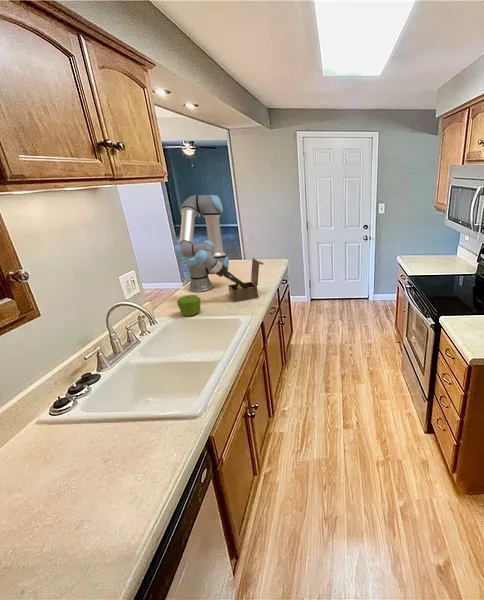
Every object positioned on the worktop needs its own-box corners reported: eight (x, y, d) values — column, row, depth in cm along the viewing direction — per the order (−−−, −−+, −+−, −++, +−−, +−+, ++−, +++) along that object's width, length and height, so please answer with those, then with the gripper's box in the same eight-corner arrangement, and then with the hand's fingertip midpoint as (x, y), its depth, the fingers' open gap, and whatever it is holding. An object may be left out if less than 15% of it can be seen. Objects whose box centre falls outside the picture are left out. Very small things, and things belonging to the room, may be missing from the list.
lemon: (236, 293, 222) (235, 278, 218) (245, 292, 224) (244, 277, 220) (237, 296, 216) (235, 281, 213) (247, 295, 218) (245, 280, 215)
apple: (204, 314, 192) (201, 296, 188) (181, 319, 186) (177, 301, 182) (200, 308, 202) (197, 291, 198) (178, 312, 195) (174, 294, 191)
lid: (258, 261, 212) (265, 262, 215) (252, 257, 223) (259, 258, 226) (256, 286, 217) (263, 286, 219) (250, 280, 227) (257, 281, 230)
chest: (234, 302, 212) (232, 290, 209) (229, 296, 223) (228, 285, 220) (258, 297, 220) (257, 286, 217) (252, 292, 231) (251, 281, 228)
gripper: (209, 270, 212) (236, 288, 227) (221, 276, 197) (249, 296, 213) (216, 260, 214) (242, 280, 229) (228, 266, 199) (256, 286, 214)
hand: (246, 287), depth 221 cm, fingers closed on lemon, 8 cm apart
